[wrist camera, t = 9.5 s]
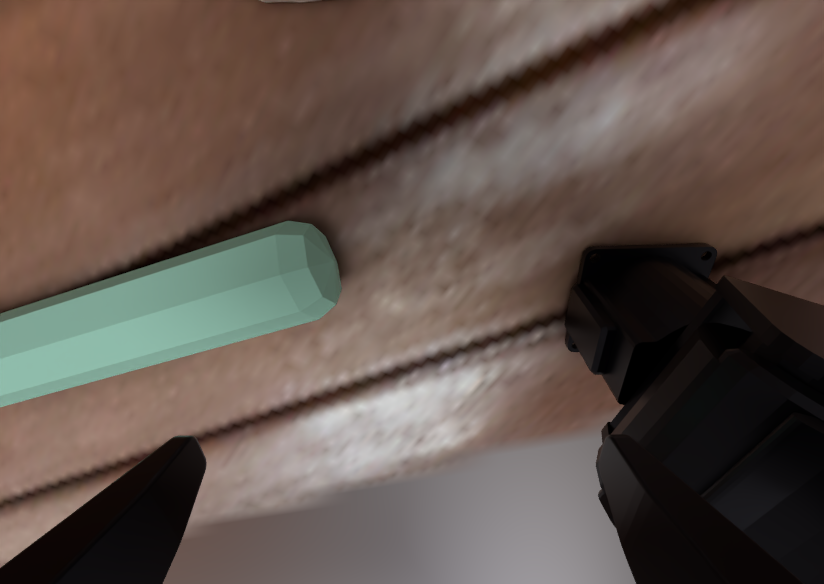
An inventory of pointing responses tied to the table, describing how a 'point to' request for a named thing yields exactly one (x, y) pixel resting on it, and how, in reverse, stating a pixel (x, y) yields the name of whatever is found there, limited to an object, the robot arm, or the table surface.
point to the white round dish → (295, 0)
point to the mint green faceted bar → (168, 310)
